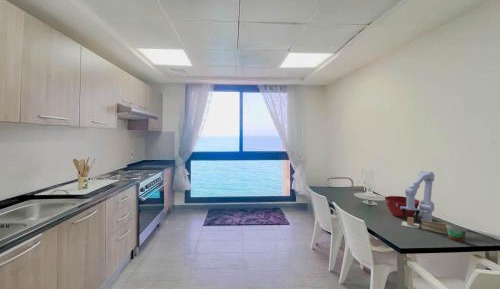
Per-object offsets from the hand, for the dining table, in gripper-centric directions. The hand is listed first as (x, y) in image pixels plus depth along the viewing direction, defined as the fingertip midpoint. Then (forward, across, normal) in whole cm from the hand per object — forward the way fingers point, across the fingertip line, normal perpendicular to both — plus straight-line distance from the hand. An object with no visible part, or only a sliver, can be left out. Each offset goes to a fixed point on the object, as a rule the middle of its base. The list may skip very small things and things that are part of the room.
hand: (410, 218), depth 207 cm
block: (+5, 0, 0) cm, 5 cm away
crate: (+5, +17, 0) cm, 18 cm away
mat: (+5, 0, 0) cm, 5 cm away
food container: (+6, +27, -19) cm, 33 cm away
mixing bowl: (+6, -8, +27) cm, 29 cm away
